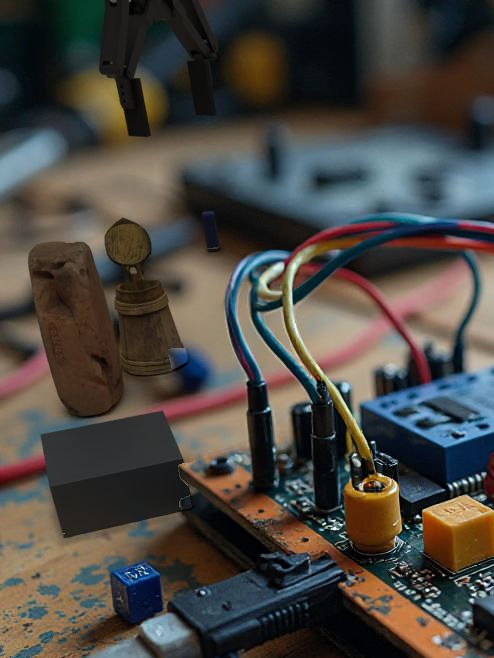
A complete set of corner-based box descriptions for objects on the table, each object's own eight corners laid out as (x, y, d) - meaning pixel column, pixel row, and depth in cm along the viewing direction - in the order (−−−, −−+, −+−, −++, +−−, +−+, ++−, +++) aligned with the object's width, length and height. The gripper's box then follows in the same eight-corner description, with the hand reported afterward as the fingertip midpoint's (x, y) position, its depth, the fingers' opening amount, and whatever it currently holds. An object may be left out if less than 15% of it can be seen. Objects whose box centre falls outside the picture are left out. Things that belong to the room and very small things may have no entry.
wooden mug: (180, 336, 156) (156, 212, 147) (192, 369, 146) (167, 238, 136) (117, 346, 154) (88, 221, 145) (124, 380, 143) (94, 247, 134)
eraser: (208, 248, 194) (202, 211, 190) (221, 248, 194) (214, 210, 191) (206, 252, 192) (200, 214, 189) (219, 251, 192) (212, 213, 189)
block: (70, 388, 141) (31, 238, 131) (129, 382, 142) (95, 233, 132) (57, 423, 132) (14, 265, 122) (120, 417, 133) (83, 259, 123)
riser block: (63, 538, 108) (49, 486, 105) (53, 482, 119) (40, 434, 116) (193, 508, 113) (183, 458, 110) (172, 457, 123) (162, 410, 120)
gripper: (94, -63, 112) (135, 147, 123) (229, -74, 132) (254, 108, 142) (37, -62, 114) (82, 144, 125) (178, -73, 134) (207, 105, 145)
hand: (174, 125), depth 134 cm, fingers open, 13 cm apart
